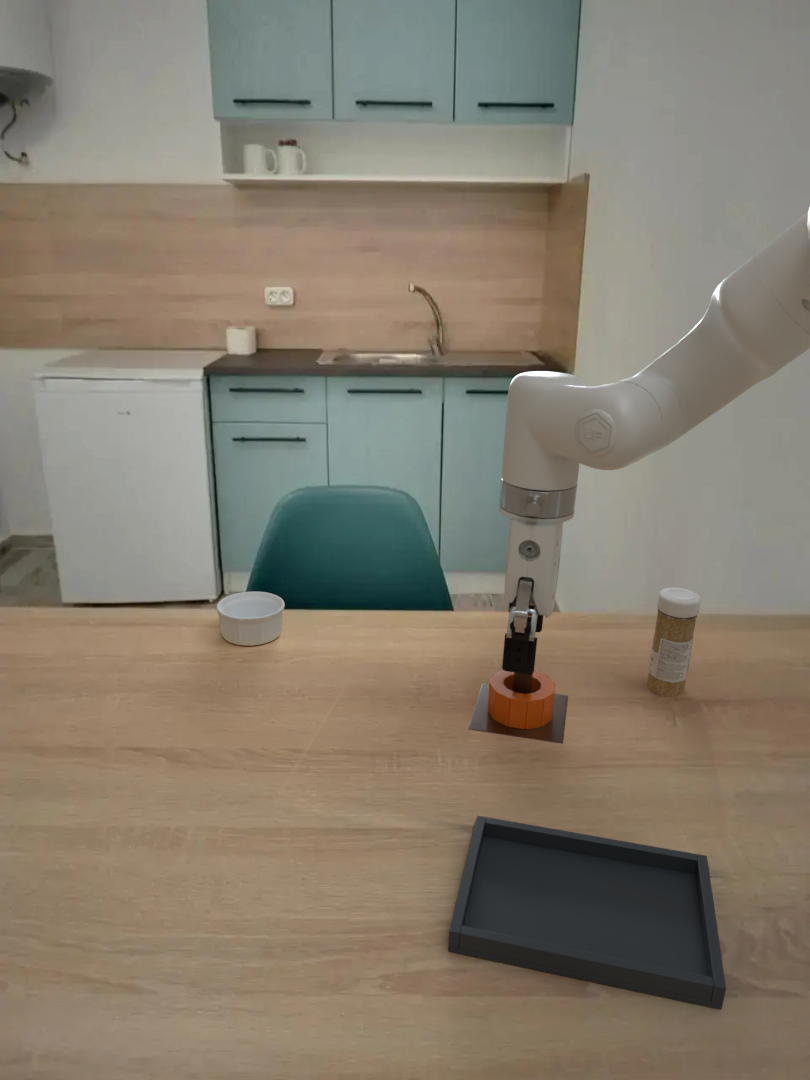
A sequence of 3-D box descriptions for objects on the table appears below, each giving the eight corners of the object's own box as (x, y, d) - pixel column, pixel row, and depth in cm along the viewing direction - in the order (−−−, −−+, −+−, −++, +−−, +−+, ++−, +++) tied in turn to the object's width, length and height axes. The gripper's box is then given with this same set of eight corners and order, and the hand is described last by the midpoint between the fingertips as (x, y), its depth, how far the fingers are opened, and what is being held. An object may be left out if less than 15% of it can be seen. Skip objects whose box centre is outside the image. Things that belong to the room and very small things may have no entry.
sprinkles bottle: (648, 684, 101) (663, 583, 96) (687, 694, 99) (704, 591, 94) (640, 702, 97) (655, 597, 92) (680, 712, 95) (698, 605, 90)
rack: (567, 706, 96) (572, 652, 93) (561, 755, 86) (568, 697, 84) (481, 694, 98) (484, 640, 95) (467, 741, 88) (470, 683, 86)
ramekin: (221, 619, 114) (219, 591, 113) (286, 618, 115) (285, 589, 114) (214, 650, 106) (212, 619, 105) (284, 648, 107) (283, 617, 106)
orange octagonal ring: (554, 699, 94) (556, 672, 93) (549, 733, 88) (552, 704, 86) (492, 691, 95) (494, 664, 94) (483, 723, 89) (485, 695, 88)
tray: (703, 874, 71) (706, 855, 70) (721, 1009, 58) (726, 988, 58) (476, 833, 75) (477, 815, 74) (447, 951, 62) (449, 931, 62)
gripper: (570, 530, 74) (552, 695, 80) (579, 478, 90) (562, 620, 96) (487, 521, 76) (475, 684, 82) (510, 471, 92) (498, 611, 98)
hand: (522, 649), depth 89 cm, fingers open, 9 cm apart
